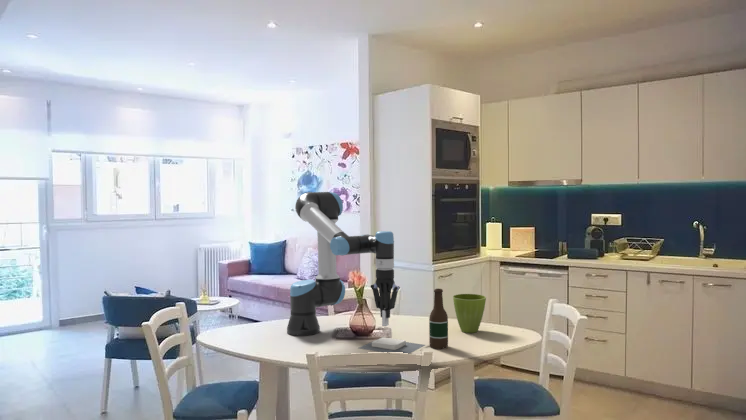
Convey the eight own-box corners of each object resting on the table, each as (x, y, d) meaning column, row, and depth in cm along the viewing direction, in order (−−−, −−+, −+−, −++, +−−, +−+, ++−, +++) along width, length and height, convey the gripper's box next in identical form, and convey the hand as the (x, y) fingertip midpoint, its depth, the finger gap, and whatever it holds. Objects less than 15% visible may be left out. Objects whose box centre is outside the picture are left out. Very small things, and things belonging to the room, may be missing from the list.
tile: (371, 342, 227) (395, 345, 221) (382, 337, 235) (405, 340, 229) (371, 346, 227) (395, 350, 221) (383, 341, 235) (405, 345, 229)
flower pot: (493, 332, 252) (492, 297, 252) (469, 337, 244) (469, 300, 243) (469, 326, 264) (469, 292, 264) (446, 330, 256) (446, 296, 255)
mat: (357, 349, 225) (357, 348, 225) (380, 339, 241) (380, 338, 241) (404, 357, 214) (404, 355, 214) (425, 346, 229) (425, 344, 229)
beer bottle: (427, 344, 232) (427, 287, 231) (446, 344, 232) (445, 287, 232) (431, 349, 224) (430, 290, 223) (450, 349, 225) (449, 290, 224)
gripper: (366, 268, 228) (367, 325, 229) (394, 270, 221) (394, 329, 222) (376, 266, 235) (376, 322, 235) (403, 268, 228) (403, 325, 228)
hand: (385, 325), depth 229 cm, fingers closed
